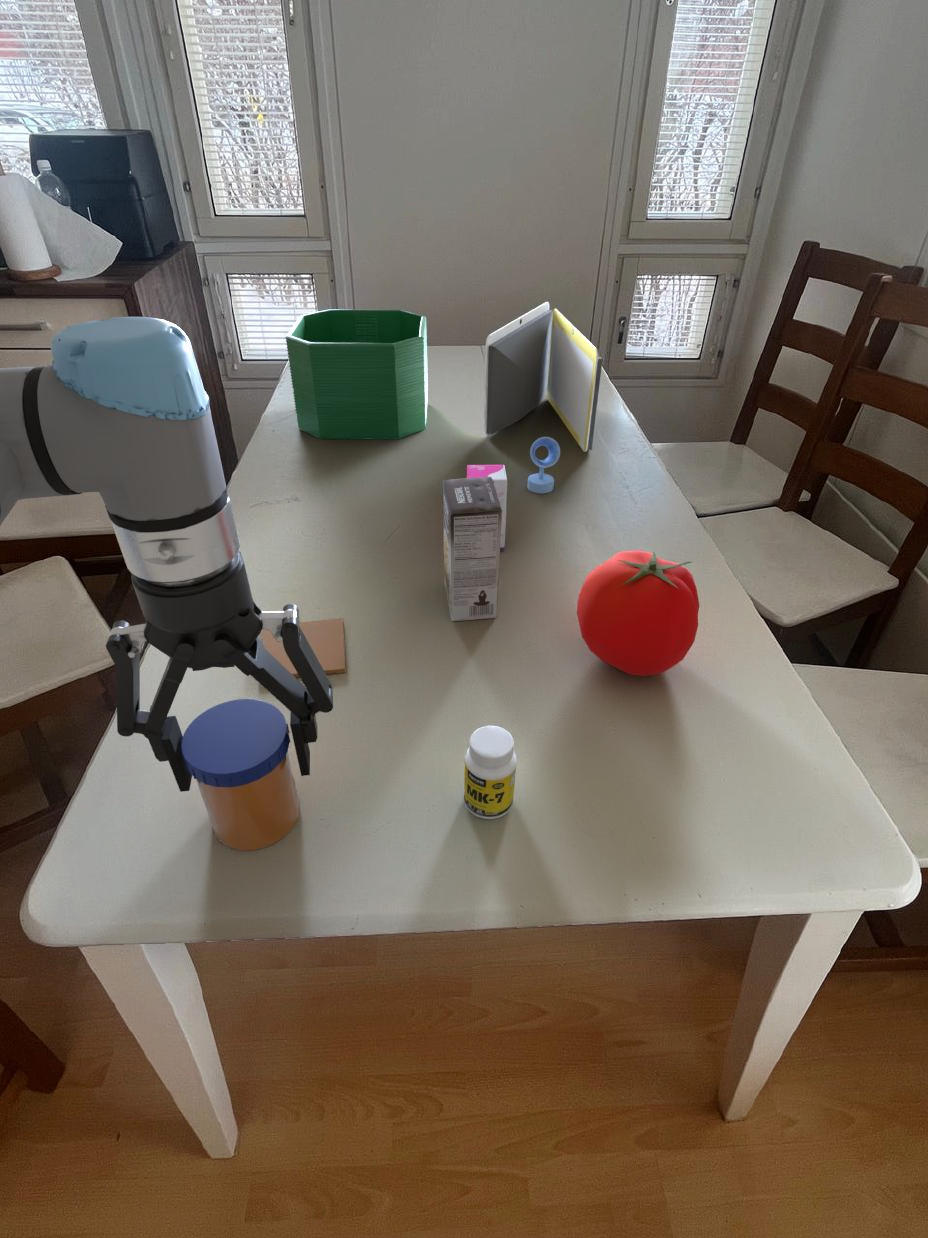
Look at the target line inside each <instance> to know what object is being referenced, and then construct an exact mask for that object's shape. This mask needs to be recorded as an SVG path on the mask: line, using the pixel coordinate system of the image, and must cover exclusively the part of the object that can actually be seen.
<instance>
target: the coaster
mask: <svg viewBox="0 0 928 1238" xmlns="http://www.w3.org/2000/svg"><path fill="white" fill-rule="evenodd" d="M299 622H300V628H301V630H302V632H303V633H304V635H305V637H306V639H307V641H308V643H309V644H310V646H311V648H312V650H313V652H314V654H315V655H316V657H317V659H318V661H319V663H320V664H321V666H322V668H323V670H324V672H325V674H326V675H332V674H333V675H334V674H341V673H346V672H347V670H346V669H347V668H346V666H347V665H346V649H345V647H346V646H345V629H344V618H343V617H339V618H331V619H330V618H329V619H320V620H309V621H299ZM261 636H262V637H261V641H262V643H263V645H264V647H265V649H266V650H267V651H268V652H269V653H270V654H271V655H272V656H273V657H274V658H275V659H277V660H278V661H279V662H280V663H281V664H282V665H283V666H284V667H285V668H286V669H287V670H288V671H289V672H290V673H291V674H292V675H293V676H294V677H295V678H300V676H299V675H298V673H297V671H296V669H295V668H294V666H293V664H292V663H291V661H290V659H289V657H288V656H287V654H286V652H285V649H284V646H283V642H277V641H276V638H274V637H273V635H272V633H271V632H270V631H268V630H266V629H262V635H261Z"/></svg>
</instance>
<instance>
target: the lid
mask: <svg viewBox="0 0 928 1238" xmlns="http://www.w3.org/2000/svg"><path fill="white" fill-rule="evenodd" d="M182 735H183V738H182V743H181V750H182V756H183V759H184V761H185V765H186V767H187V770H188V771H189V772H190V773H191V775H192V778H193V779H194V780H196V779H197V780H199V781H200V782H202V783H204V784H205V785H206V784H207V785H210V786H215V787H236V786H241V785H246V784H249V783H252V782H254V781H256V780H259V779H261V778H262V777H264V776H266V775H267V774H269V773H270V772H272V771H273V770H274V769H275V768H276V767H277V766H278V765H279V764H280V763H281V762H282V760H283V759H284V757H285V755H286V753H288V752H289V748H290V743H291V738H290V729H289V724H288V723H287V720H286V717H285V715H284V714H283V713H282V711H281V710H280V709H279V708H278V707H276V706H275V705H273V704H272V703H270V702H267V701H264V700H261V699H255V698H240V699H239V698H238V699H232V700H228V701H225V702H221V703H218V704H215V705H214V706H211V707H210V708H208V709H206V710H204V711H203V712H202V713H200V714H199V715H197V717H195V718H193V720H192V721H191V723H190V724H188V726H187V728H186V729H185V731H184V733H183V734H182Z"/></svg>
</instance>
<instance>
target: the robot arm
mask: <svg viewBox="0 0 928 1238" xmlns="http://www.w3.org/2000/svg"><path fill="white" fill-rule="evenodd" d="M50 343H51V344H50V352H51V355H52V358H53V359H52V361H51V363H49V364H48V363H47V365H42V366H41V365H40V366H24V367H22V366H21V367H0V526H1V525H2V524H3V522H4V521H5V520H6V518H7V517H8V515H9V514H10V513H11V511H12V510H13V508H14V506H16V504H17V502H18V501H21V500H28V499H29V500H30V499H37V498H38V499H39V498H52V497H63V496H74V495H82V494H83V493H85V494H86V493H98V494H99V495H100V497H101V499H102V501H103V503H104V504H105V505H104V507H105V509H106V510H105V511H106V513H107V515H108V518H109V520H110V524H111V525H112V528H113V531H114V534H115V536H116V540H117V543H118V546H119V548H120V551H121V554H122V557H123V559H124V563H125V565H126V567H127V570H128V571H129V572H130V573H131V574H130V579H131V584H132V587H133V589H134V591H135V595H136V598H137V600H138V603H139V606H140V610H141V612H142V615H143V617H144V618H145V623H141V624H134V625H130V623H129V622H128V621H125V620H117V621H115V622H114V623H113V626H112V628H111V630H110V633H109V636H108V638H107V641H106V644H105V648H106V650H107V653H108V654H109V656H110V658H111V660H112V662H113V664H114V666H115V698H116V700H115V701H116V729H117V731H116V732H117V733H118V735H119V736H121V737H131V736H133V735H134V734H140V735H143V736H144V738H146V739H147V740H148V742H149V745H150V747H151V750H152V752H153V755H154V757H155V759H156V760H157V761H158V762H160V763H161V762H168V763H169V767H170V768H171V771H172V774H173V776H174V779H175V781H176V784H177V787H178V790H179V792H180V793H182V792H189V791H190V790H191V784H192V779H193V776H192V775H191V773H190V772H189V771H188V770H187V767H186V765H185V761H184V759H183V756H182V750H181V743H182V738H183V735H184V734H183V733H182V730H181V727H180V724H179V722H178V718H177V716H176V715H169V712H170V710H171V708H172V705H173V702H174V700H175V699H176V695H177V694H178V693H177V692H178V690H179V688H180V686H181V684H182V682H183V680H184V677H185V674H186V672H187V670H188V669H191V670H192V672H198V671H204V670H208V669H211V668H223V669H226V668H234V667H236V668H237V669H238V670H239V671H240V672H242V673H243V674H244V675H245V676H247V677H249V676H251V677H252V678H253V679H254V680H255V681H257V683H259V685H261V686H262V687H263V688H264V689H265V690H267V691H268V693H270V694H271V695H272V696H273V697H274V698H275V699H276V700H277V701H279V702H280V703H281V704H282V705H283V706H284V707H285V708H286V709H287V710H289V712H290V714H289V715H290V717H289V718H290V719H289V726H290V730H291V731H290V732H291V734H292V739H293V745H294V749H295V755H296V758H297V763H298V767H299V772H300V776H301V777H306V776H310V775H311V750H310V746H309V744H312V743H317V740H318V722H317V715H316V714H318V713H325V714H326V713H327V714H328V713H330V712H332V711H333V710H334V689H333V684H332V683H331V680H330V679H329V678H328V674H325V672H324V670H323V668H322V666H321V664H320V663H319V661H318V659H317V657H316V655H315V654H314V652H313V650H312V648H311V646H310V644H309V643H308V641H307V639H306V637H305V635H304V633H303V632H302V630H301V628H300V622H301V621H300V610H299V607H298V606H297V605H296V604H294V603H287V604H285V605H284V606H283V607H282V611H281V610H277V611H263V610H262V609H261V608H260V607H259V606H258V605H257V604H256V602H255V601H254V598H253V595H252V590H251V586H250V582H249V577H248V573H247V569H246V565H245V560H244V555H243V553H242V552H241V550H240V548H241V542H240V537H239V533H238V528H237V523H236V520H235V519H236V518H235V515H234V511H233V506H232V502H231V499H230V496H229V492H228V488H227V484H226V479H225V475H224V469H223V465H222V461H221V455H220V450H219V446H218V445H219V444H218V441H217V436H216V432H215V426H214V423H213V418H212V417H213V416H212V412H211V407H210V405H211V403H210V397H209V395H208V394H207V391H205V388H204V385H203V381H202V377H201V374H200V371H199V367H198V364H197V359H196V356H195V353H194V351H193V347H192V343H191V340H190V339H189V336H188V335H187V334H186V333H185V331H184V330H182V329H181V328H180V327H179V326H177V324H175V323H172V322H170V321H167V320H165V319H160V318H156V317H148V316H117V317H110V318H108V319H102V320H101V319H100V320H88V321H84V322H80V323H79V322H78V323H76V324H73V325H70V326H68V327H66V328H63V329H62V330H59V332H57V333H56V334H55V335H54V336H53V338H52V340H51V342H50ZM263 629H266V630H268V631H270V632H271V633H272V635H273V637H274V638H276V641H277V642H283V646H284V649H285V652H286V654H287V656H288V657H289V659H290V661H291V663H292V664H293V666H294V668H295V669H296V671H297V673H298V675H299V676H300V677H299V678H300V680H301V681H302V682H301V681H300V680H299V679H297V677H294V676H293V675H292V674H291V673H290V672H289V671H288V670H287V669H286V668H285V667H284V666H283V665H282V664H281V663H280V662H279V661H278V660H277V659H275V658H274V657H273V656H272V655H271V654H270V653H269V652H268V651H267V650H266V649H265V647H264V645H263V643H262V639H260V638H259V636H260V634H261V633H262V632H263ZM145 643H148V644H150V645H151V646H152V647H154V648H155V649H157V650H158V651H160V652H161V653H163V654H164V655H166V656H167V657H169V659H168V661H167V664H166V667H165V669H164V672H163V674H162V677H161V679H160V682H159V685H158V687H157V690H156V692H155V695H154V698H153V700H152V703H151V705H150V707H149V710H142V709H141V673H140V672H141V662H140V661H141V658H140V657H141V653H143V650H144V647H145V646H144V645H145ZM168 715H169V716H168Z"/></svg>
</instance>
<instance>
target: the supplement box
mask: <svg viewBox="0 0 928 1238" xmlns="http://www.w3.org/2000/svg"><path fill="white" fill-rule="evenodd" d="M480 477H491V478H492V480H493V483H494V486H495V489H496V492H497V495H498V498H499V501H500V504H501V507H502V526H501V545H500V552H501V551H502V552H503V551H504V552H505V547H506V546H505V544H506V526H507V525H506V522H507V521H506V520H507V496H508V495H507V494H508V477H507V472H506V465H505V464H467V465H466V478H480Z"/></svg>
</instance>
